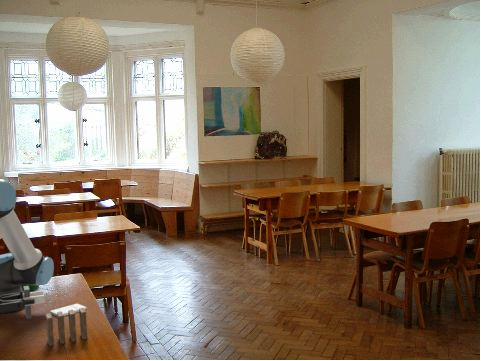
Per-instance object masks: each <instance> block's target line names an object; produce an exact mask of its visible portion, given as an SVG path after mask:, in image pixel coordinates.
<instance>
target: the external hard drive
mask: <svg viewBox="0 0 481 361" xmlns="http://www.w3.org/2000/svg"><path fill="white" fill-rule="evenodd" d="M79 308H84V309H85V311H87V306H84V305H82V304H79V303H74V304H70V305H67V306H63V307H59V308H55V309H52V310H49V312H48V314H49V313H51V316H54V317H57V312H61V311H62V313H63V315H64V317H66V316H69V315H68V310H73V311H74V313H75V314H76V313H77V314H78V313H79ZM57 318H58V317H57Z"/></svg>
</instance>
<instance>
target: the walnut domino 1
mask: <svg viewBox="0 0 481 361" xmlns="http://www.w3.org/2000/svg"><path fill="white" fill-rule="evenodd" d="M45 320H46V321H45V322H46V334H47V335H46V337H47V344H48V346H49V347H52V346H53V347H54V346H55V339H54V336H55V335H54V325H53V315H52V314H51V313H49V312H48V313H46V314H45Z"/></svg>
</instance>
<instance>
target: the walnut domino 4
mask: <svg viewBox="0 0 481 361" xmlns="http://www.w3.org/2000/svg"><path fill="white" fill-rule="evenodd" d="M78 313H79V326H80V336H81V339H82V340H88V325H87V324H88V322H87V310H85V309H84V308H79V312H78Z"/></svg>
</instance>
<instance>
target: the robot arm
mask: <svg viewBox="0 0 481 361" xmlns="http://www.w3.org/2000/svg"><path fill="white" fill-rule="evenodd" d="M16 191H17V190H16V188H15V187H14V185H13V184H12V183H11V182H10V181H8V180H6V179H4V178H3V179H1V178H0V237H1V238H2V240H3V242H4V244H5V245H6V247H7V249H8V250H9V252H8V253H4V254H0V314H9V313H12V312H17V311H20V310H25V306H29V305H31V306H34V305H41V304H45V303H46V300H45V294H44V290H38V291H30V297H26V298H24V291H23V290H22V286H21V285H37V286H38V285H39V286H45V285H47V284H48V283H49V282H50V281H51V280H52V278H53V274H54V271H55V270H54V269H55V265H54V259H52V257H49V256H44V255H43V253H42V250H40V249H39V248H35V246H34V245H33V243H32V241H31V239H30V237H29V236H28V234H27V231H26V230H25V228H24V226H23V225H22V223H21V221H20V220H19V218H18V215H17V214H16V212H15V208H16V203H17V200H18V198H17V196H16V195H17V192H16Z"/></svg>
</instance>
